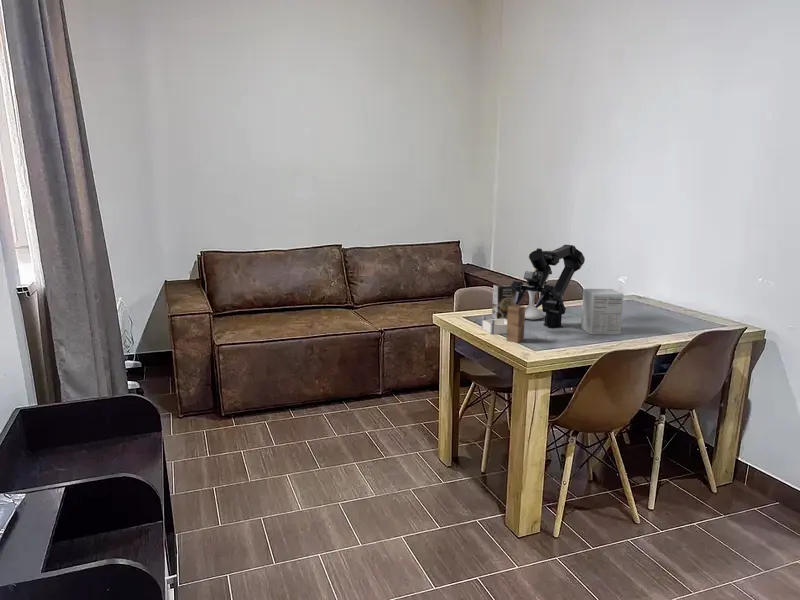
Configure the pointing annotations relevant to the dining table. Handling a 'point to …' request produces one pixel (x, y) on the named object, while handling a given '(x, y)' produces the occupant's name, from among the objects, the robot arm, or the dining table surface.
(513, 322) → the brown block
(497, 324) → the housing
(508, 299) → the coffee box
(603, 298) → the supplement box
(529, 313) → the flower in vase
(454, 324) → the dining table surface
